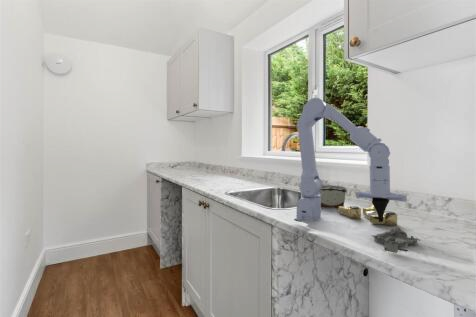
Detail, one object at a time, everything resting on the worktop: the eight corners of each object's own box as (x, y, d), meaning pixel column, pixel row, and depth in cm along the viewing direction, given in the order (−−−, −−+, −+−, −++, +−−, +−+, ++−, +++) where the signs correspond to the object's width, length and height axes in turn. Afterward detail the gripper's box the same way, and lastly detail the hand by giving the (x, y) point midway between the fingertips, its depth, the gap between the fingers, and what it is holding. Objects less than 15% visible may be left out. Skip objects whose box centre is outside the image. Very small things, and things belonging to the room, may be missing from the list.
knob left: (363, 218, 91) (363, 207, 91) (355, 220, 89) (355, 209, 89) (343, 212, 99) (343, 203, 98) (336, 214, 96) (336, 204, 96)
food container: (344, 208, 110) (345, 185, 110) (346, 212, 104) (347, 188, 104) (315, 206, 114) (315, 184, 113) (315, 209, 108) (316, 186, 107)
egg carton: (399, 240, 74) (400, 227, 74) (423, 251, 67) (424, 236, 66) (368, 243, 72) (369, 229, 71) (390, 254, 64) (390, 239, 64)
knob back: (377, 212, 99) (377, 203, 98) (387, 215, 94) (387, 205, 94) (359, 214, 96) (360, 204, 96) (369, 217, 92) (369, 207, 92)
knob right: (391, 221, 87) (392, 210, 87) (400, 226, 83) (400, 214, 82) (367, 222, 87) (368, 210, 87) (375, 226, 82) (375, 214, 82)
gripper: (408, 179, 80) (408, 221, 81) (359, 177, 90) (360, 215, 90) (404, 182, 75) (405, 227, 75) (353, 179, 85) (354, 219, 85)
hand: (380, 221), depth 83 cm, fingers closed, pressing on knob right
